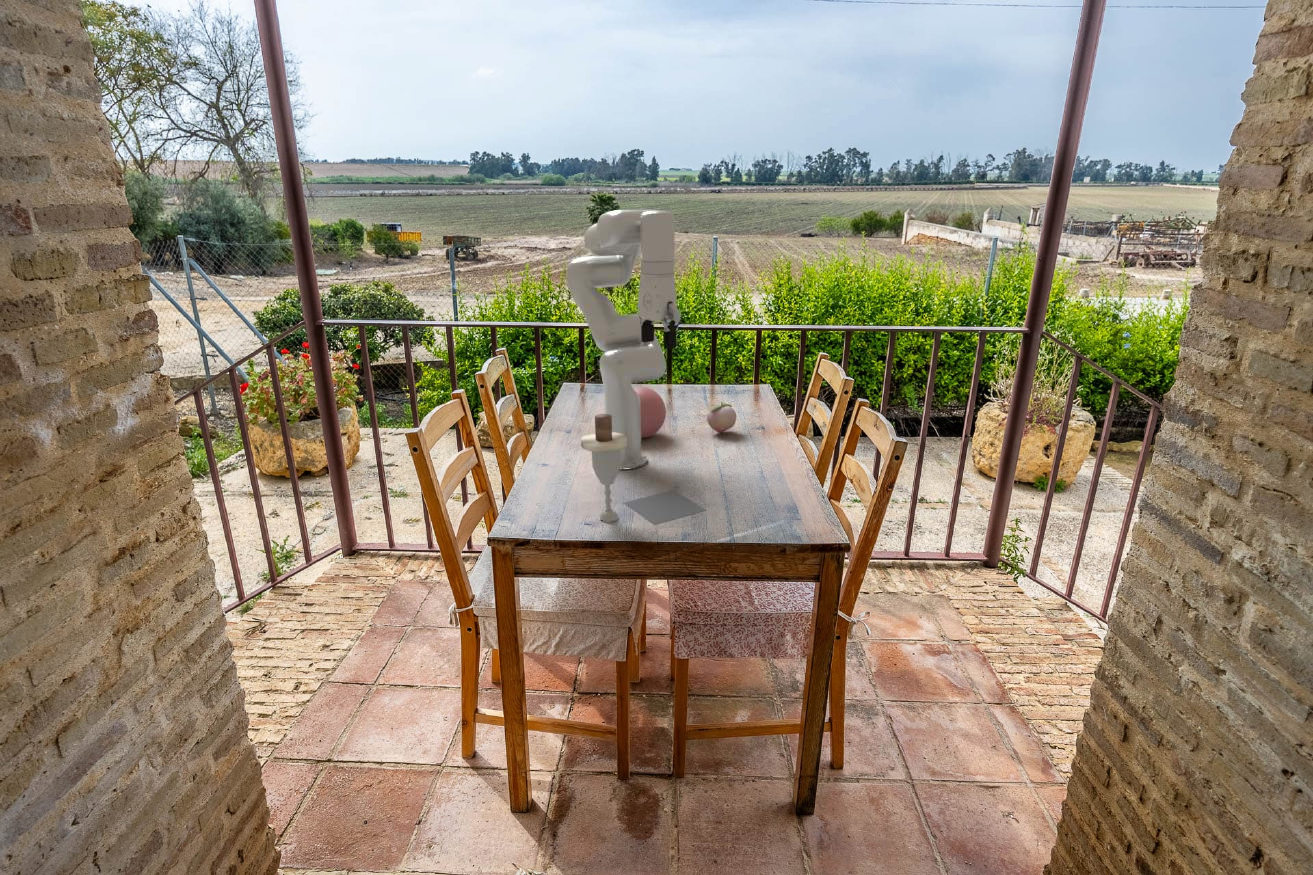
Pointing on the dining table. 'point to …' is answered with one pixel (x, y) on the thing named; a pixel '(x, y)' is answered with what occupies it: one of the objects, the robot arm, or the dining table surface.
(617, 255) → the robot arm
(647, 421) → the balloon
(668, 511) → the mat
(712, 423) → the decorative fruit
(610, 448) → the lid
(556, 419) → the dining table surface
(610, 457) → the chalice
